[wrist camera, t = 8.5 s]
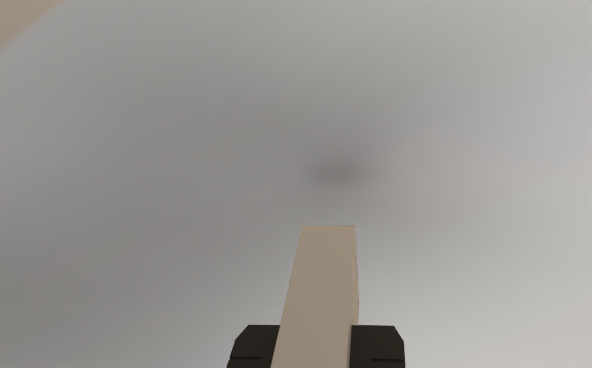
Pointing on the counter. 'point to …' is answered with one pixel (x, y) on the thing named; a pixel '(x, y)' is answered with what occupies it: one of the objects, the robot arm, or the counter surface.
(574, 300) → the counter surface
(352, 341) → the robot arm
